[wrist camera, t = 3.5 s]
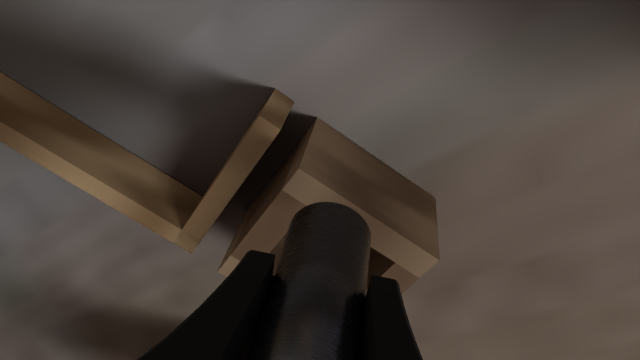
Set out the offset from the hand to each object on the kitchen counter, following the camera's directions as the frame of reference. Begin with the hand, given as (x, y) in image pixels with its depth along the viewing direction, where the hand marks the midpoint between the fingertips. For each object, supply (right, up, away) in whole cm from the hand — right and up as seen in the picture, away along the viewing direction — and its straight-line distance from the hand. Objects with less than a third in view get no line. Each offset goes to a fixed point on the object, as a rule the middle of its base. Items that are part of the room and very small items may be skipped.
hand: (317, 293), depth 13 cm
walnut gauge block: (+1, +2, +10) cm, 10 cm away
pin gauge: (0, +1, +2) cm, 2 cm away
